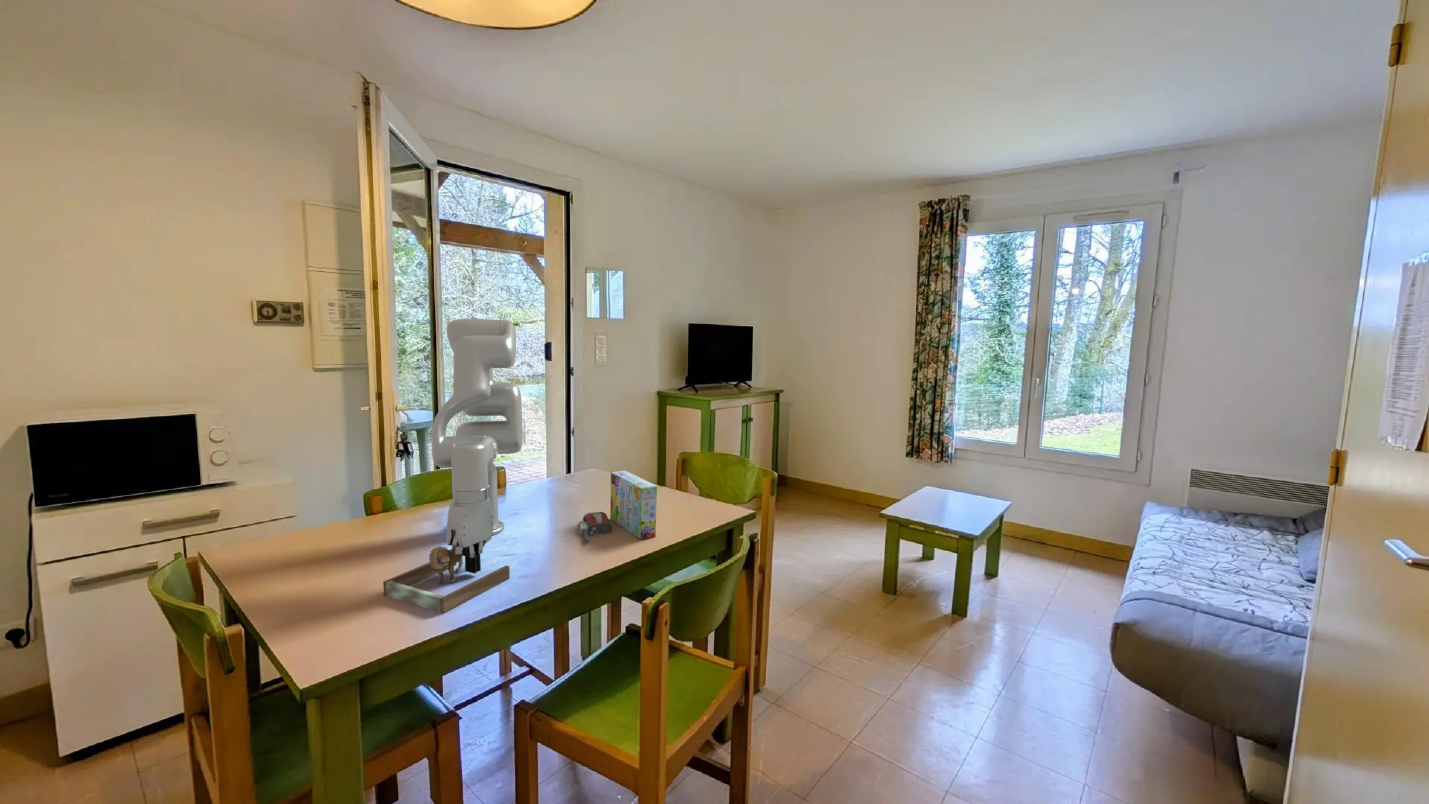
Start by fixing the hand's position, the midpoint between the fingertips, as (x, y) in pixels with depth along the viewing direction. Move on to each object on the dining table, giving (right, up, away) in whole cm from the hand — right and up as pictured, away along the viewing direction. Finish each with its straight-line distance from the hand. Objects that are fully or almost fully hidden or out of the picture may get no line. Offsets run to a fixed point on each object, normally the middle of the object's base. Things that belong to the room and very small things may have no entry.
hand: (473, 571), depth 130 cm
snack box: (+32, +2, +34) cm, 47 cm away
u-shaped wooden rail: (-3, -2, -6) cm, 7 cm away
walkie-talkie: (+22, +2, +31) cm, 38 cm away
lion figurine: (-3, -1, -1) cm, 4 cm away
